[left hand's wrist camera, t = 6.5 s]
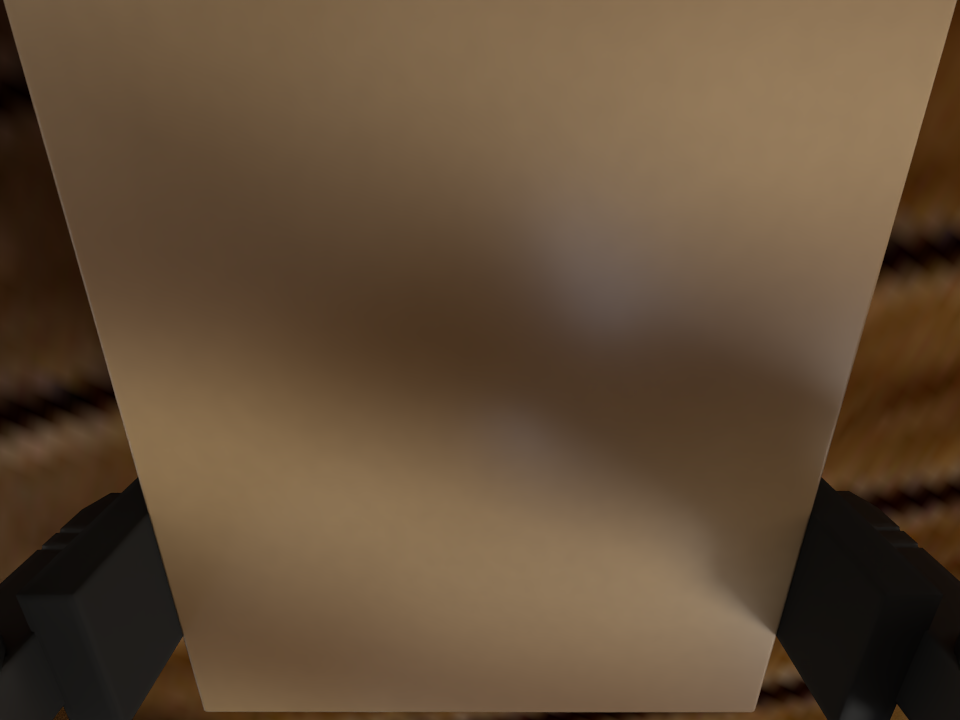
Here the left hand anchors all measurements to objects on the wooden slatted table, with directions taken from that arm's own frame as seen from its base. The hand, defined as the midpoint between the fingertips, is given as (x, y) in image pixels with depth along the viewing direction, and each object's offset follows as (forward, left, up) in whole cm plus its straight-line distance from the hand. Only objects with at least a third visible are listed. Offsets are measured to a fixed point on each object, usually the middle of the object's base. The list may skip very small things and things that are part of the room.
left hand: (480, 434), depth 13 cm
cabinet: (+1, +5, -3) cm, 6 cm away
